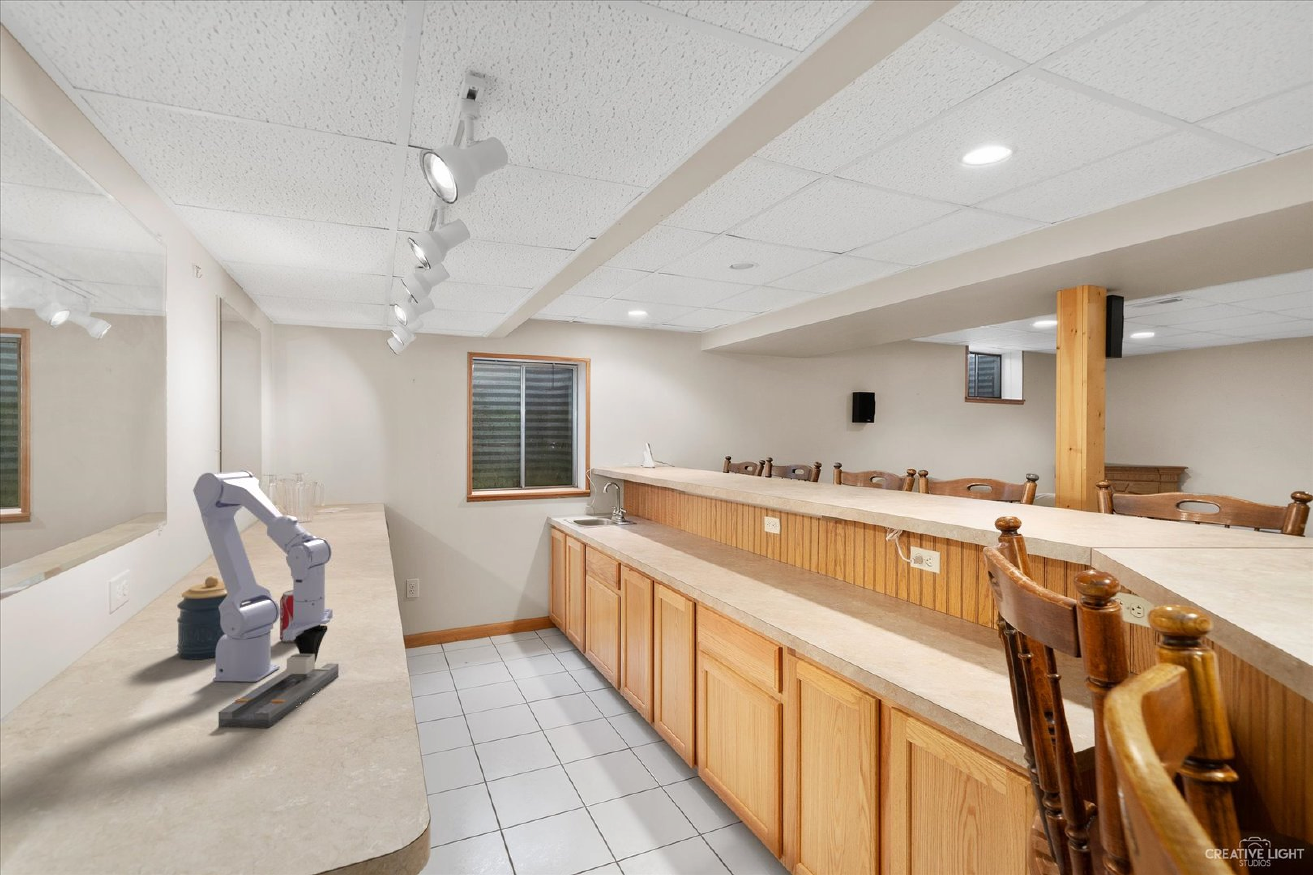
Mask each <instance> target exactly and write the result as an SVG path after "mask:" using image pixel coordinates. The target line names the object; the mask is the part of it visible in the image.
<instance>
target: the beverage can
mask: <svg viewBox="0 0 1313 875" xmlns="http://www.w3.org/2000/svg"><path fill="white" fill-rule="evenodd" d="M279 609H280V614H279V640H280V641H283V642H284V643H289V644H290V643H295V642H294V641H293V640H283V630H285V629H286V628H287V627H288V626H289V625H290V624H291V622H292V621H293V589H291V590H287V591H286V590H285V591H284V592H282V595H281V597H280V598H279Z"/></svg>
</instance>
